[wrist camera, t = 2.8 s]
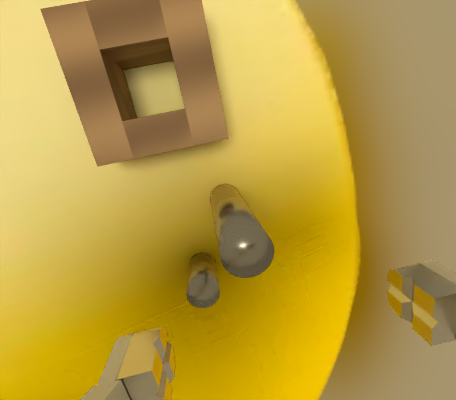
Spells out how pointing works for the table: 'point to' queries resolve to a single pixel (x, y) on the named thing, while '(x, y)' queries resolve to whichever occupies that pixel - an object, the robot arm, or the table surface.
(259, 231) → the long pin
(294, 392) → the table surface
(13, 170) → the table surface
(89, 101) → the hole block
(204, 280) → the short pin
